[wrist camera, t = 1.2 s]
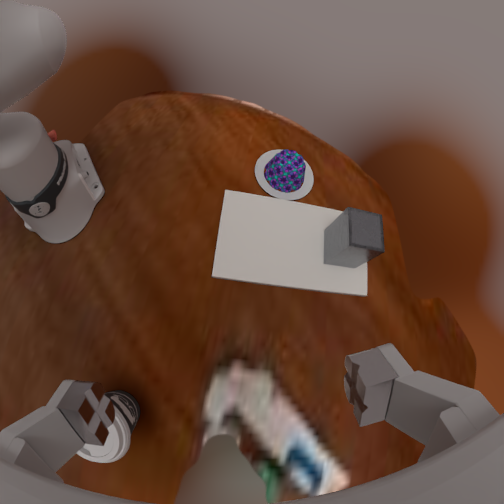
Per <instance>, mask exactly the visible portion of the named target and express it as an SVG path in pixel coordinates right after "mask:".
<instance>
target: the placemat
mask: <svg viewBox="0 0 504 504" xmlns="http://www.w3.org/2000/svg"><path fill="white" fill-rule="evenodd" d="M342 212H343V211H338V210H334V209H329V208H324V207H319V206H314V205H309V204H304V203H299V202H294V201H288V200H283V199H278V198H272V197H266V196H261V195H255V194H249V193H243V192H237V191H230V190H225V195H224V201H223V207H222V213H221V219H220V225H219V232H218V238H217V245H216V251H215V258H214V265H213V272H212V278H219V279H226V280H233V281H240V282H248V283H255V284H263V285H270V286H278V287H286V288H294V289H302V290H310V291H319V292H328V293H337V294H346V295H355V296H367V262H366V263H364V264H362V265H360V266H358V267H356V268H349V267H342V266H335V265H328V264H323V263H324V230H325V229H326V228H327V227H328V226H329V225H330V224H331V223H332V222H333V221H334V220H335V219H336V218H337V217H338V216H339V215H340V214H341V213H342Z"/></svg>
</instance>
